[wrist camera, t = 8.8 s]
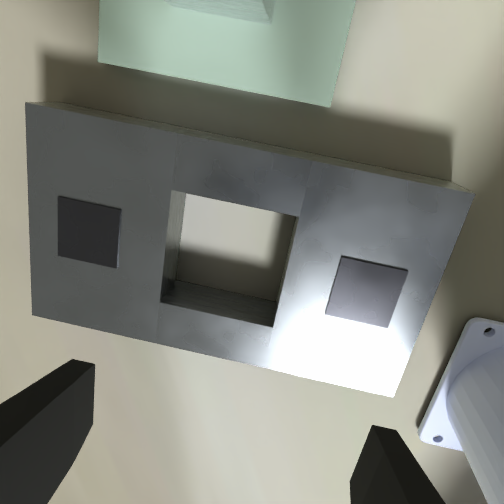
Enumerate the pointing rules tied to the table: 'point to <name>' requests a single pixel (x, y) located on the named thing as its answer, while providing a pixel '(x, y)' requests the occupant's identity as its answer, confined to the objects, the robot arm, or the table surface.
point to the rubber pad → (232, 45)
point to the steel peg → (231, 8)
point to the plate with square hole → (244, 193)
